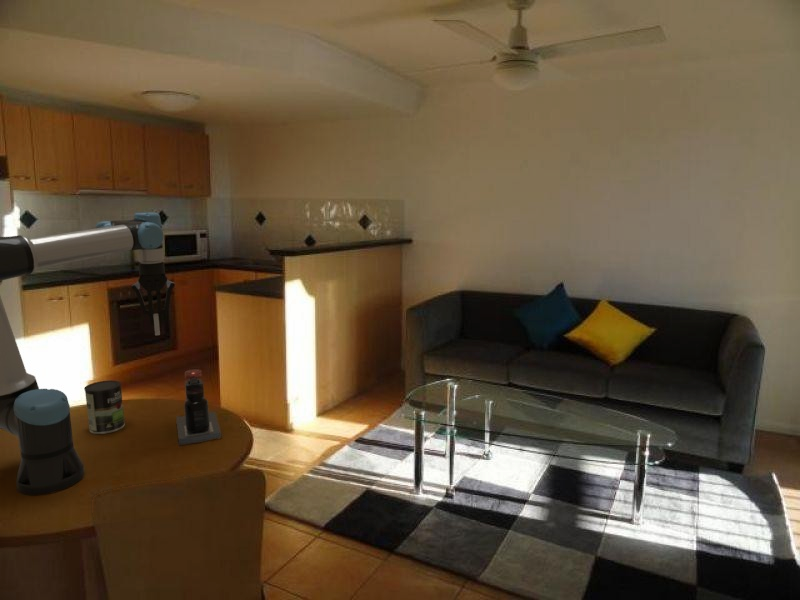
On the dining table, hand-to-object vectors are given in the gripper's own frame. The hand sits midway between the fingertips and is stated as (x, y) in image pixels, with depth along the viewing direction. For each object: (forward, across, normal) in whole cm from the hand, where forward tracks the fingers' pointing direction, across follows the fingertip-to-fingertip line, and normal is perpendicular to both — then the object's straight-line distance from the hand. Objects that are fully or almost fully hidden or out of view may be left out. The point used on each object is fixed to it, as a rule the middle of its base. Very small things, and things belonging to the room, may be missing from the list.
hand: (157, 334), depth 186 cm
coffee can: (+29, +17, +2) cm, 33 cm away
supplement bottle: (+26, -9, +20) cm, 34 cm away
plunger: (+23, -10, +10) cm, 27 cm away
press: (+28, -10, +16) cm, 34 cm away
